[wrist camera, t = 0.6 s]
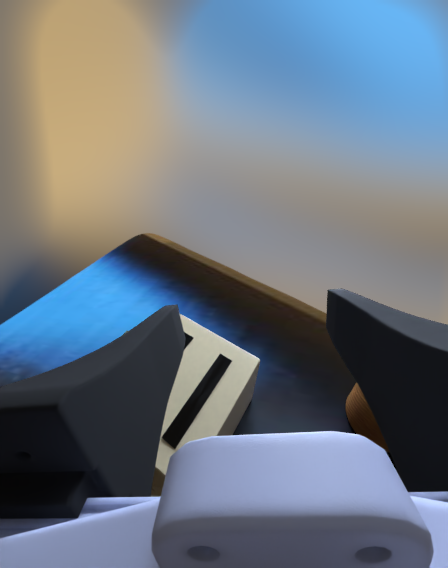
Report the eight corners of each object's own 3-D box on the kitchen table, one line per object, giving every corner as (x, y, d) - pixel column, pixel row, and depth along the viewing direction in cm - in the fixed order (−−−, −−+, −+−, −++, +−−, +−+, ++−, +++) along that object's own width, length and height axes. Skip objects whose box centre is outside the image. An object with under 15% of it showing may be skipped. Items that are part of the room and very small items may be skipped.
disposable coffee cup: (322, 441, 24) (375, 407, 15) (337, 360, 30) (382, 301, 21) (431, 496, 21) (575, 493, 12) (425, 395, 27) (520, 343, 18)
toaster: (199, 497, 22) (182, 495, 14) (130, 434, 25) (87, 406, 18) (252, 397, 27) (260, 358, 20) (190, 357, 31) (177, 311, 23)
